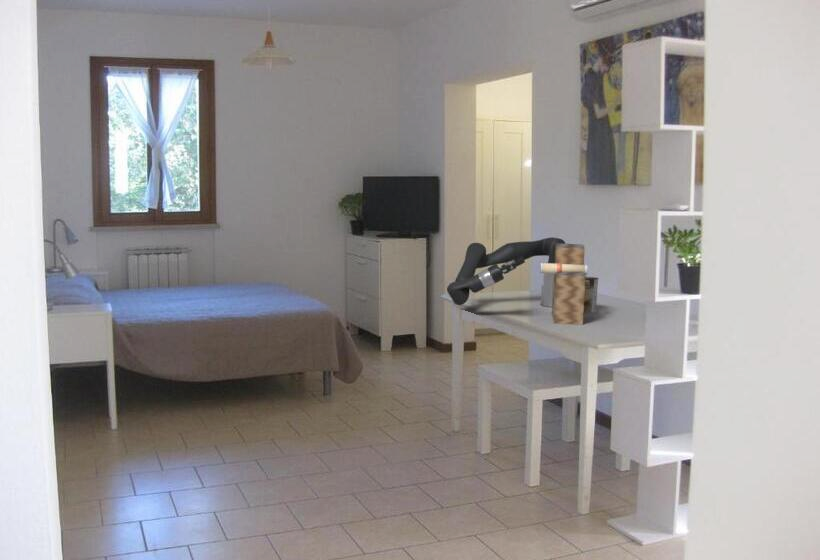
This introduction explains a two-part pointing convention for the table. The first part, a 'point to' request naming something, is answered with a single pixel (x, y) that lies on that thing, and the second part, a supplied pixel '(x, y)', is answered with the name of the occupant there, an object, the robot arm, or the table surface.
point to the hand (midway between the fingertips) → (523, 259)
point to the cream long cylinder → (563, 268)
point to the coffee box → (590, 294)
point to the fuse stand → (568, 286)
